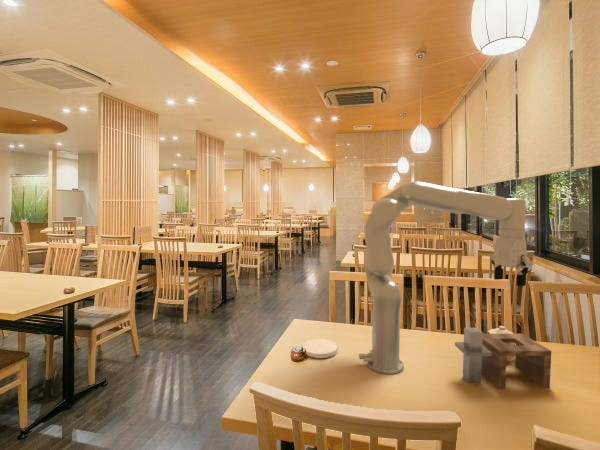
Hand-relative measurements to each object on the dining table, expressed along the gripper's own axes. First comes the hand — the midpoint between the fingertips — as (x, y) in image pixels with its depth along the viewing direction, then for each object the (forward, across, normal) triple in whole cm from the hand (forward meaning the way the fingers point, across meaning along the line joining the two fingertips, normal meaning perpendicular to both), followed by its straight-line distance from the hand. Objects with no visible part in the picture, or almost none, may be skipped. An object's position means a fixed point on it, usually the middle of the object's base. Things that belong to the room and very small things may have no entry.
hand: (509, 282), depth 117 cm
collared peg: (+31, +5, -18) cm, 36 cm away
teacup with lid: (+31, -8, +5) cm, 32 cm away
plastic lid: (+32, -26, -62) cm, 74 cm away
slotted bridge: (+31, +6, -4) cm, 31 cm away
